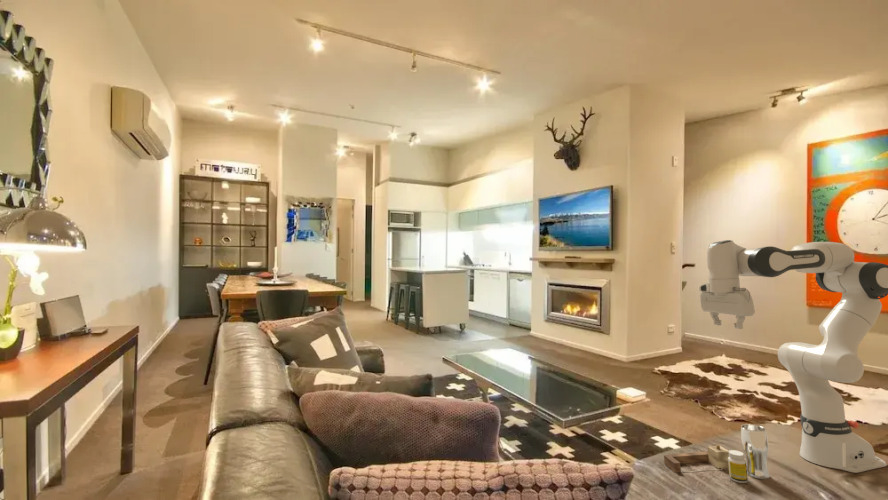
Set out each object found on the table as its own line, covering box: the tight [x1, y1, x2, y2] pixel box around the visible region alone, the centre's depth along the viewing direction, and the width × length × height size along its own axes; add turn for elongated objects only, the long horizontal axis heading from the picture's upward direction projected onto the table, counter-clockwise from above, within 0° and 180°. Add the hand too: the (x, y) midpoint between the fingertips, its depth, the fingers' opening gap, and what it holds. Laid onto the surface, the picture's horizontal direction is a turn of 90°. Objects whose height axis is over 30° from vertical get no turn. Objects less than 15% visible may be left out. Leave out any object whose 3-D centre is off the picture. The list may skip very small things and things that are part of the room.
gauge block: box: [707, 444, 730, 469], centre depth 138 cm, size 4×4×7 cm
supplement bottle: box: [728, 449, 748, 484], centre depth 129 cm, size 5×5×8 cm
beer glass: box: [740, 423, 770, 480], centre depth 131 cm, size 7×7×15 cm
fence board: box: [663, 451, 724, 473], centre depth 139 cm, size 20×8×3 cm, turn 92°
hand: (727, 326), depth 140 cm, fingers open, 8 cm apart
